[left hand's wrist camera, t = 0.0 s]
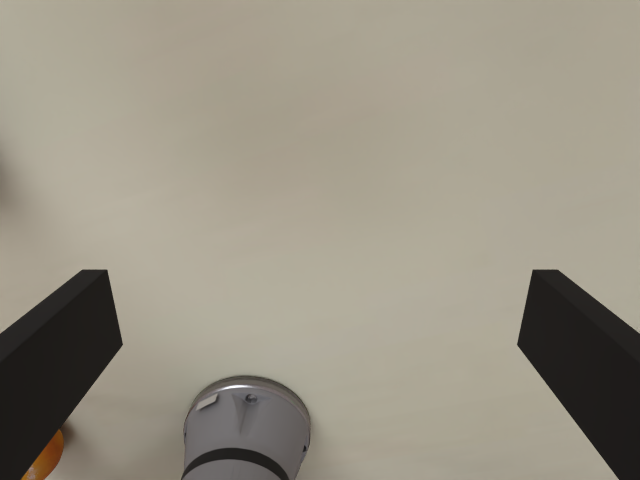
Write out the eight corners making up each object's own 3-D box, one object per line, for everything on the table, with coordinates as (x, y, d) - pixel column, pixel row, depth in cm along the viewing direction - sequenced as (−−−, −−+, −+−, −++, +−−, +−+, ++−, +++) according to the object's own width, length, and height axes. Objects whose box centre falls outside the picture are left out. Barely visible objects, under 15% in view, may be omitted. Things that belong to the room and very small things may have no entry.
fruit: (-39, 419, 46) (-51, 495, 41) (45, 391, 48) (43, 459, 43) (3, 442, 52) (-3, 510, 47) (75, 415, 54) (77, 477, 50)
